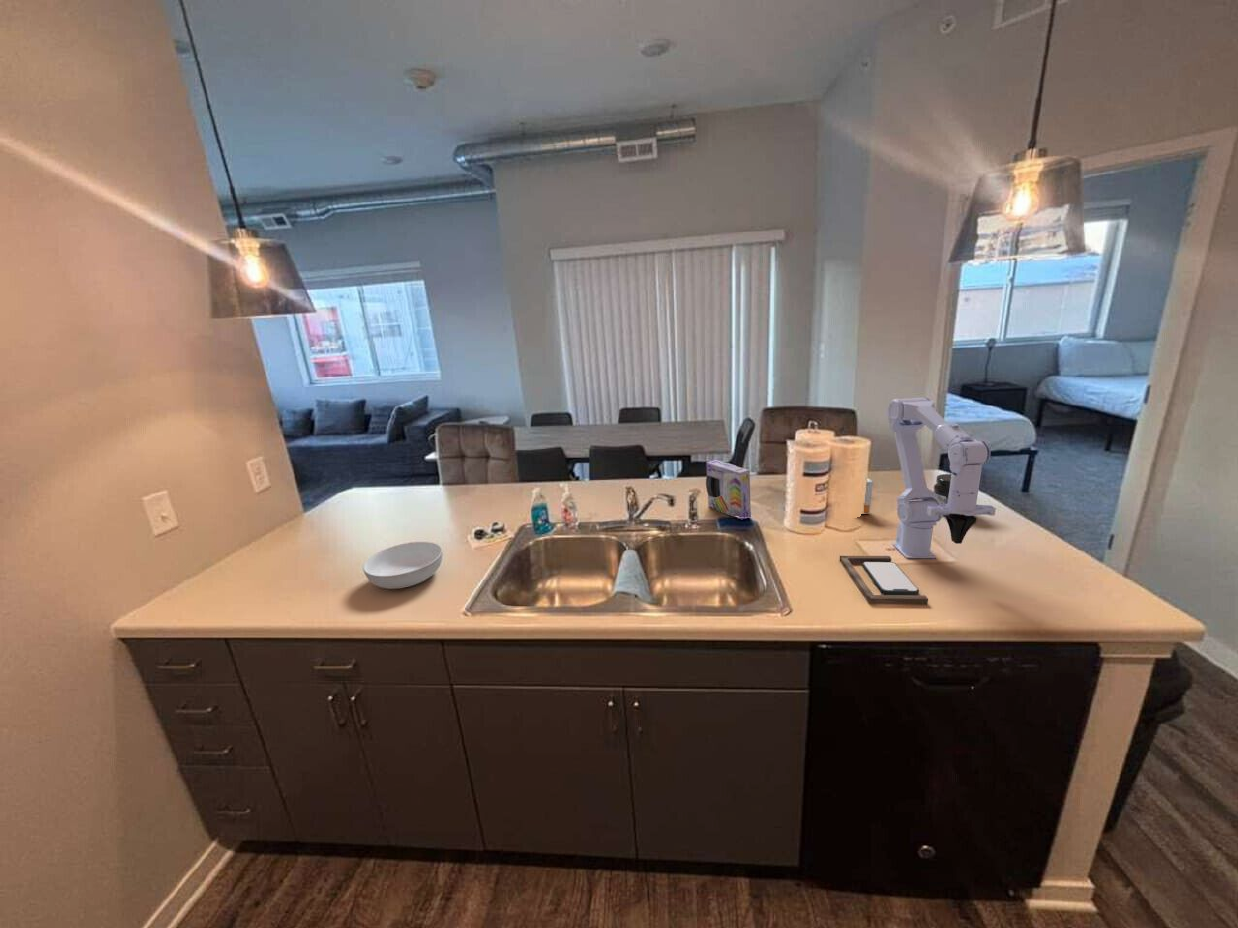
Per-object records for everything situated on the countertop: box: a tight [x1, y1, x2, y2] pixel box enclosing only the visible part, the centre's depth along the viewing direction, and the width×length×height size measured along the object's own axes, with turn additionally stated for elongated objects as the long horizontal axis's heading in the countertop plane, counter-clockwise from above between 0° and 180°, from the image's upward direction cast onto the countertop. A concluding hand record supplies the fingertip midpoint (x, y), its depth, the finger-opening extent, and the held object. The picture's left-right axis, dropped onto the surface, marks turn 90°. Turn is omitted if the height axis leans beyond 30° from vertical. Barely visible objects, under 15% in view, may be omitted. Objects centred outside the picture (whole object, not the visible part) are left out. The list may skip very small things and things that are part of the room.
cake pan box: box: [705, 459, 752, 517], centre depth 174 cm, size 19×5×18 cm, turn 28°
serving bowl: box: [362, 541, 443, 590], centre depth 141 cm, size 21×21×7 cm
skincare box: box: [864, 477, 874, 515], centre depth 168 cm, size 6×4×12 cm
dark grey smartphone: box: [861, 561, 920, 595], centre depth 128 cm, size 9×2×16 cm
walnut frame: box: [838, 555, 929, 606], centre depth 127 cm, size 22×13×2 cm, turn 174°
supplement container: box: [933, 473, 952, 505], centre depth 165 cm, size 10×10×12 cm
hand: (956, 541), depth 123 cm, fingers closed
